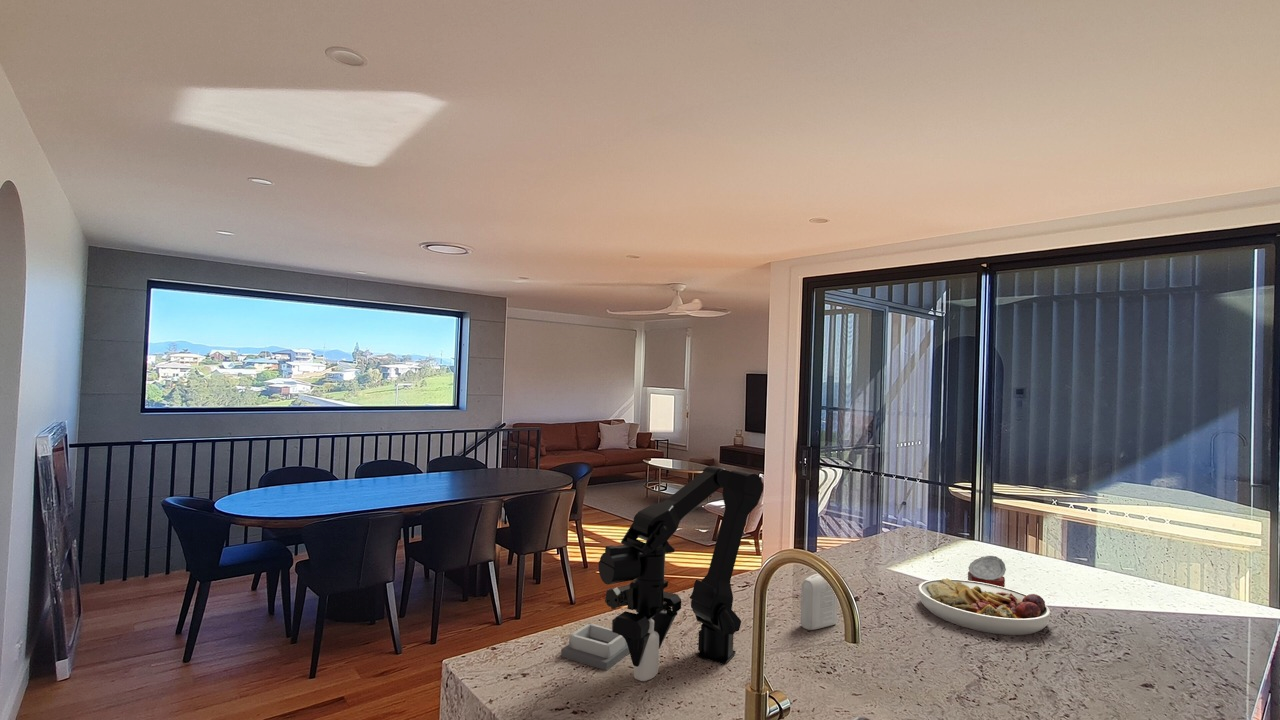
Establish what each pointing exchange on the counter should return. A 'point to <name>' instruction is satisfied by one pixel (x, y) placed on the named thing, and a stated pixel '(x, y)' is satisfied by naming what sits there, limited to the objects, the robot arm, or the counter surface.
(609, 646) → the grey square bottle holder
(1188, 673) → the counter surface
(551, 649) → the counter surface
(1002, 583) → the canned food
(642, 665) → the eye dropper bottle
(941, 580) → the bowl
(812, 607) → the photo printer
